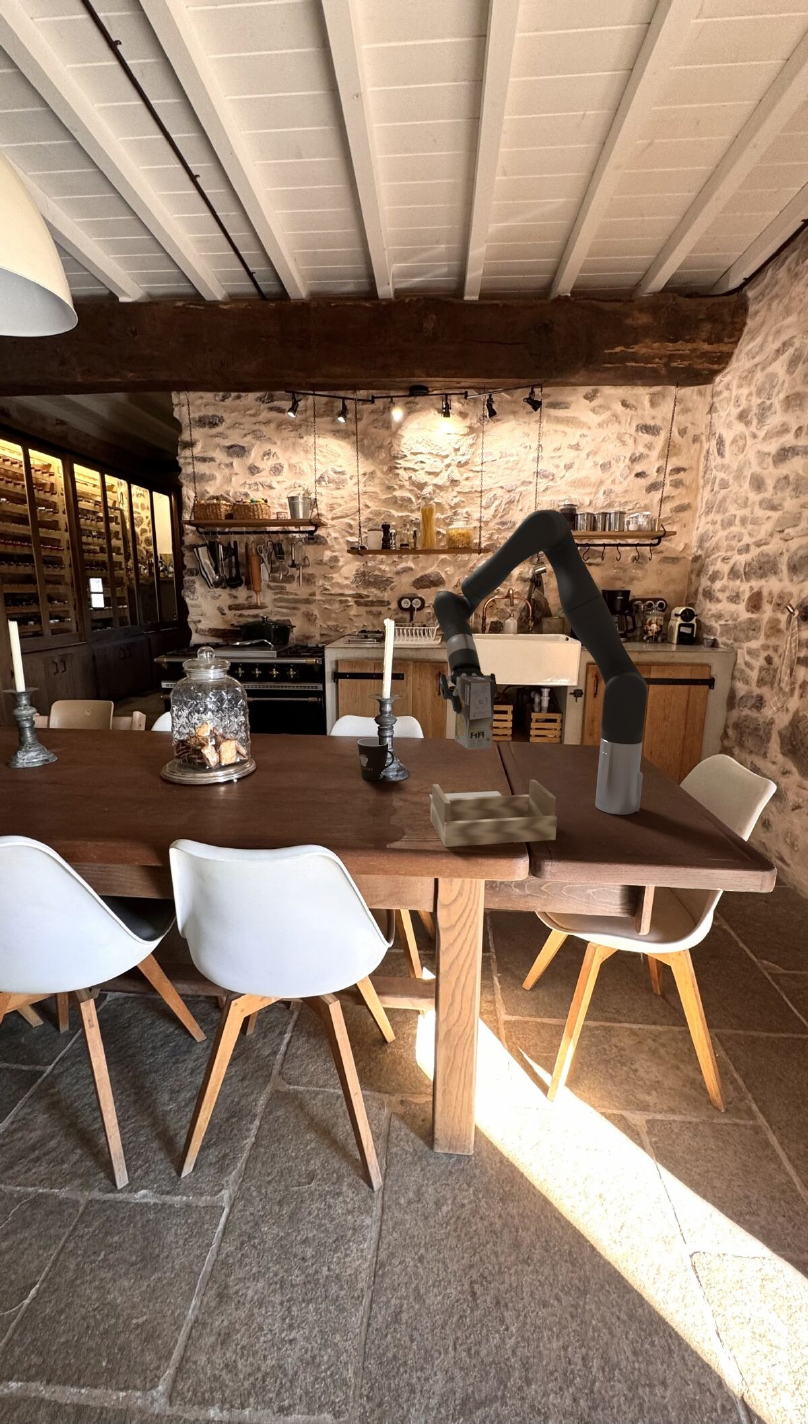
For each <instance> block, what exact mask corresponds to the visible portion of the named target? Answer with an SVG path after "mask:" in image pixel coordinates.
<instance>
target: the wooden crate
mask: <svg viewBox="0 0 808 1424" xmlns="http://www.w3.org/2000/svg"><path fill="white" fill-rule="evenodd" d="M431 790H432V791H431V793H432V799H431V798H430V822H431V824H432V825H433V828H434V829H435V831H436V833H437V835H438V836H439V838H440V840H441V843H442V844H443V846H444V847H445V848H448V847H464V846H465V847H466V846H478V845H493V844H495V845H496V844H497V845H498V844H508V843H509V844H510V842H511V844H512V842H513V843H524V842H525V843H527V842H542V841H543V842H544V841H556V836H557V821H558V816H557V815H555V814H556V801H557V797H556V796H555V795H554V794H552V793H551V792H550V790H548V789H547V788H545V787H544V786H543V785H542V784H541V783H540V782H538V781H537V780H536V779H529V786H528V794H513V795H502V796H489V797H469V798H449V799H448V798H447V797H446V796H445V794H446V793H445V792H444V791H443V789H442V788H441V787H440V785H439V784H438V783H436V784H435V783H433V784H432V789H431Z"/></svg>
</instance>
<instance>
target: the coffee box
mask: <svg viewBox="0 0 808 1424" xmlns="http://www.w3.org/2000/svg"><path fill="white" fill-rule="evenodd" d="M457 690H458V695H457V697H459V701H460V706H461V712H460V714H456V713H455V724H454V725H455V726H454V729H455V730H454V741H455V742H457V743H458V744H459V745H460V746H462V747H464V748H466V749H467V750H469V751H470V750H473V751H474V750H484V749H485V750H486V749H492V748H493V730H494V729H493V727H494V713H495V712H494V711H495V698H494V693H495V681H492V680H490V679H487V678H484V677H482V676H459V677H457Z"/></svg>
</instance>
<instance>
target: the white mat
mask: <svg viewBox="0 0 808 1424" xmlns="http://www.w3.org/2000/svg"><path fill="white" fill-rule="evenodd" d="M444 794H445V796H446V797H447V798H448V799H449V798H469V797H489V796H503V795H502V794H501V792H499V791H497V790H496V791H494V790H493V791H476V792H475V791H474V792H473V791H472V792H456V793H455V792H454V793H453V792H452V793H444ZM429 798H430V800H431V799H432V794H431V793H430V794H429Z"/></svg>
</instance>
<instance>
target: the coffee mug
mask: <svg viewBox="0 0 808 1424" xmlns="http://www.w3.org/2000/svg"><path fill="white" fill-rule="evenodd" d="M379 738H380V737H366V738H360V739H358V740H357V748H358V749H357V750H358V757H359V764H360V765H359V766H360V774H361V778H362V779H364V780H368V781H378V780H379V778H380V774H381V772H382V771H383V770H384V769H385V770H386V769H388V768H389V767H391V766H392V765H393V764H394V761H395V755H394V753H393V752H392V751H391V750H389V743H390V741H389V740H388V742H387V744H384V745H379ZM388 754H390V756H391V761H390V762H389V764H387V760H388ZM385 764H386V766H385ZM379 781H380V780H379Z"/></svg>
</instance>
